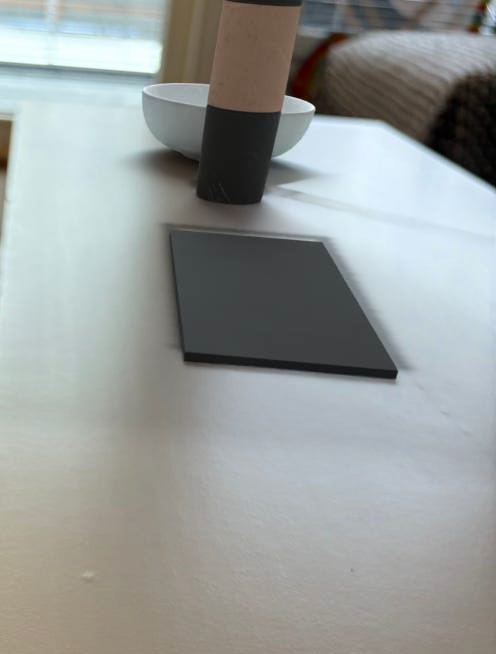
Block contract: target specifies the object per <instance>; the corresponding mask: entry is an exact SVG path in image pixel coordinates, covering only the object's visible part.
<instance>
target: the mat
mask: <svg viewBox="0 0 496 654" xmlns="http://www.w3.org/2000/svg"><path fill="white" fill-rule="evenodd" d="M168 235H169V236H168V237H169V243H170V244H169V245H170V253H171V261H172V270H173V279H174V286H175V295H176V305H177V313H178V322H179V330H180V340H181V349H182V357H183V361H188V362H189V361H190V362H199V363H200V362H201V363H210V364H211V363H212V364H223V365H233V366H245V367H255V368H267V369H276V370H277V369H278V370H290V371H300V372H310V373H324V374H335V375H345V376H355V377H356V376H358V377H367V378H368V377H369V378H377V379H378V378H379V379H389V380H396V379H397V377H398V374H399V370H398V368H397V366H396V364H395V362H394V361H393V359H392V357H391V356H390V354H389V353H388V351H387V349H386V347H385V346H384V343H383V342H382V341H381V339H380V337H379V335H378V334H377V332H376V331H375V329H374V327H373V326H372V324H371V322H370V320H369V319H368V317H367V315H366V313H365V312H364V310H363V308H362V306H361V304H360V303H359V302H358V300H357V298H356V297H355V295H354V293H353V292H352V289H351V288H350V286H349V284H348V283H347V281H346V279H345V278H344V276H343V274H342V273H341V271H340V270H339V268H338V266H337V264H336V263H335V261H334V259H333V257H332V256H331V254H330V253H329V250H328V249H327V247H326V245H325V244H324V243H323V241H316V240H304V239H292V238H278V237H269V236H256V235H243V234H230V233H221V232H219V233H218V232H206V231H194V230H184V229H170V230H169V234H168Z"/></svg>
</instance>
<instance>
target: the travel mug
mask: <svg viewBox="0 0 496 654" xmlns="http://www.w3.org/2000/svg"><path fill="white" fill-rule="evenodd" d="M302 5H303V0H222V8H221V13H220V19H219V26H218V31H217V38H216V45H215V49H214V50H215V51H214V56H213V63H212V68H211V69H212V70H211V73H210V74H211V76H210V81H209V85H210V87H209V93H208V99H207V106H206V114H205V122H204V130H203V138H202V146H201V154H200V161H198V169H197V170H198V171H197V178H196V189H195V194H196V196H198V197H199V198H201V199H204V200H208V201H211V202H215V203H221V204H229V205H252V204H258V203H260V202H261V201H262V199H263V196H264V192H265V188H266V184H267V179H268V174H269V170H270V165H271V161H272V158H271V157H272V153H273V148H274V144H275V139H276V135H277V130H278V126H279V121H280V117H281V110H282V107H283V102H284V97H285V95H286V90H287V85H288V79H289V74H290V69H291V64H292V57H293V53H294V48H295V43H296V36H297V31H298V27H299V26H298V25H299V21H300V16H301V10H302Z"/></svg>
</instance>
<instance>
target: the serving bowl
mask: <svg viewBox="0 0 496 654" xmlns="http://www.w3.org/2000/svg"><path fill="white" fill-rule="evenodd" d="M209 87H210V83H209V84H206V83H187V82H186V83H185V82H183V83H182V82H181V83H180V82H179V83H178V82H173V83H157V84H151V85H147V86H144V87H143V88H142V90H141V104H142V105H141V107H142V108H141V109H142V114H143V118H144V121H145V124H146V127H147V128H148V130H149V132H150V133H151V134H152V136H153V137H154V138H155V139H156V140H157V142H159V143H161V144H162V145H163V146H166V147H167V148H169V149H171V150H173V151H175V152H178V153H180V154H181V155H182V156H184V157H186V158H188V159H191V160H194V161H198V162H200V154H201V146H202V138H203V130H204V122H205V114H206V106H207V99H208V93H209ZM315 112H316V106H314V104H312V103H310V102H308V101H307V100H303V99H301V98H297V97H293V96H289V95H286V94H285V97H284V102H283V107H282V110H281V117H280V121H279V126H278V130H277V135H276V139H275V144H274V148H273V153H272V157H271V159H274V158H277V157H280V156H282V155H284V154H286V153H287V152H289V151H290V150H292V149H293V148H294V147H295V146H297V144H298V143H299V142H300V141H302V139H303V137H304V136H305V135H306V133H307V131H308V129H309V128H310V125H311V123H312V120H313V117H314V115H315Z"/></svg>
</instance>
